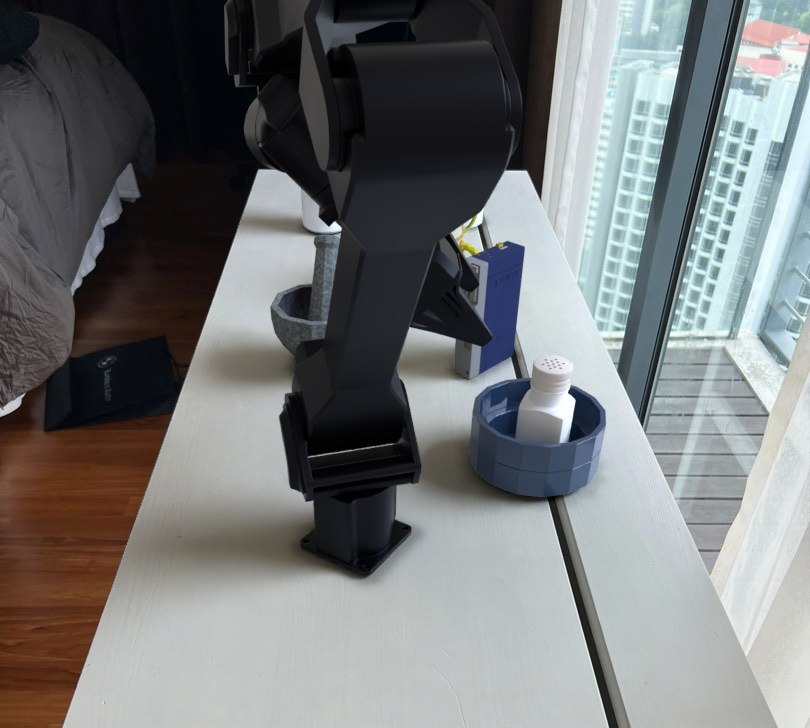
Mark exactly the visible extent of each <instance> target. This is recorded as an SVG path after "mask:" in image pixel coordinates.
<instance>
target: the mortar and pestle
mask: <svg viewBox="0 0 810 728" xmlns="http://www.w3.org/2000/svg"><path fill="white" fill-rule="evenodd" d="M339 242H340V237H339V236H336V235H333V234H319V235H315V236H314V237H313V245H314V247H315V256H314V266H313V275H312V283H305V284H304V283H303V284H297V285H295V286H293V287H289V288H288V289H285V290H282V291H279V292H277V293H276V295H275V297H274V298H273V300H272V302H271V304H270V306H269V308H270V309H269V310H270V321H271V324H272V328H273V331H274V334H275V336H276V338H277V339H278V340H279V342H280V343H281V345H282V347H284V348H285V349H286V350H287V351H288V352H289V353H290V354H291V356H293V361H292V367H293V368H292V370H293V369H294V366H295V350H296V348H297V346H298V345H299V344H300V342H301V341H305V340H313V339H321V338H325V332H326V325H327V319H328V313H329V306H330V300H331V293H332V287H333V280H334V274H335V268H336V261H337V255H338V248H339Z"/></svg>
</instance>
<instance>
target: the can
mask: <svg viewBox="0 0 810 728" xmlns="http://www.w3.org/2000/svg"><path fill="white" fill-rule="evenodd" d="M300 196H301V197H300V198H301V215H302V225H303V226H304V228H305V229H306V230H307V231H309V232H312V233H315V234H319V235H333V234H338V233H341V229H342V228H341V227H340V226H339V225H338V224H337V223H336V222H334V223H333V224H332V225H331V226H330V227H328V226H327V225H326V224H325V223H324V222H323V221H322V220H321V219H320V218H319V217H318V216H319V205H317V204H316V203H315V202H314V201H313V200H312V199H311V198H310V196H309V195H307V194H306V193H305V192H304V191H303V190H302V189H301V188H300Z"/></svg>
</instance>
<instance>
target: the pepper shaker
mask: <svg viewBox="0 0 810 728" xmlns="http://www.w3.org/2000/svg"><path fill="white" fill-rule="evenodd" d="M573 370H574V364H573V362H572V361H570V360H569V359H568V358H565V357H563V356H560V355H555V354H554V355H552V354H546V355H540V356H538V357H537V358H534V360H533V362H532V370H531V377H530V378H531V382H530V384H531V389H530V390H529V391H528V392H527V393H526V394H525V396H524V398H523V399H522V401H521V403H520V405H519V411H518V419H517V428H516V436H515V439H517V440H520V441H523V442H531V443H541V444H557V443H566V442H568V441H569V435H570V430H571V424H572V418H573V412H574V406H575V399H574V398H573V397H572V396H571V395H570V394H568V390H569V389H570V385H571V382H572V377H573Z"/></svg>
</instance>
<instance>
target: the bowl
mask: <svg viewBox="0 0 810 728" xmlns="http://www.w3.org/2000/svg"><path fill="white" fill-rule="evenodd" d="M530 382H531V377H522V378H513V379H505V380H503V381H499V382H497V383H493V384H491V385H488V386H487V387H485V388H484V389H483V390H482V391H481V392H479V394H478V395H476V396H475V398H474V401H473V407H472V414H471V426H470V439H469V449H468V461H469V463H470V465H471V467H472V468H473V470H474V472H475V474H476V475H478V476H479V477H480V478H481V479H483V480H485V481H486V482H487V483H488V484H489V485H491V486H492V487H495V488H497V489H501V490H503V491H506V492H509V493H512V494H514V495H517V496H518V495H519V496H525V497H535V498H549V497H555V496H565V495H569V494H571V493H574V492H575V491H578V490H580V489H582V488H584V487H586V486H587V485H588V484H589V483H590V482H591V480H592V479H593V478H594V476H595V475H596V474H597V471H598V467H599V461H600V457H601V452H602V448H603V447H602V446H603V441H604V438H605V431H606V428H607V412H606V409H605V408H604V406H603V405H602V404H601V402H599V400H598V399H597V398H596V397H595V396H593V395H592V394H590V393H588V392H587V391H585V390H584V389H582V388H580V387H578V386H576V385H572V384H570V389H569V390H568V394H570V395H571V396H572V397H573V398H574V399H575V406H574V412H573V418H572V424H571V430H570V435H569V441H568V442H566V443H557V444H541V443H531V442H523V441H520V440H517V439H515V436H516V428H517V419H518V411H519V405H520V403H521V401H522V399H523V398H524V396H525V394H526V393H527V392H528V391H529V390H530V389H531V384H530Z"/></svg>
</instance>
